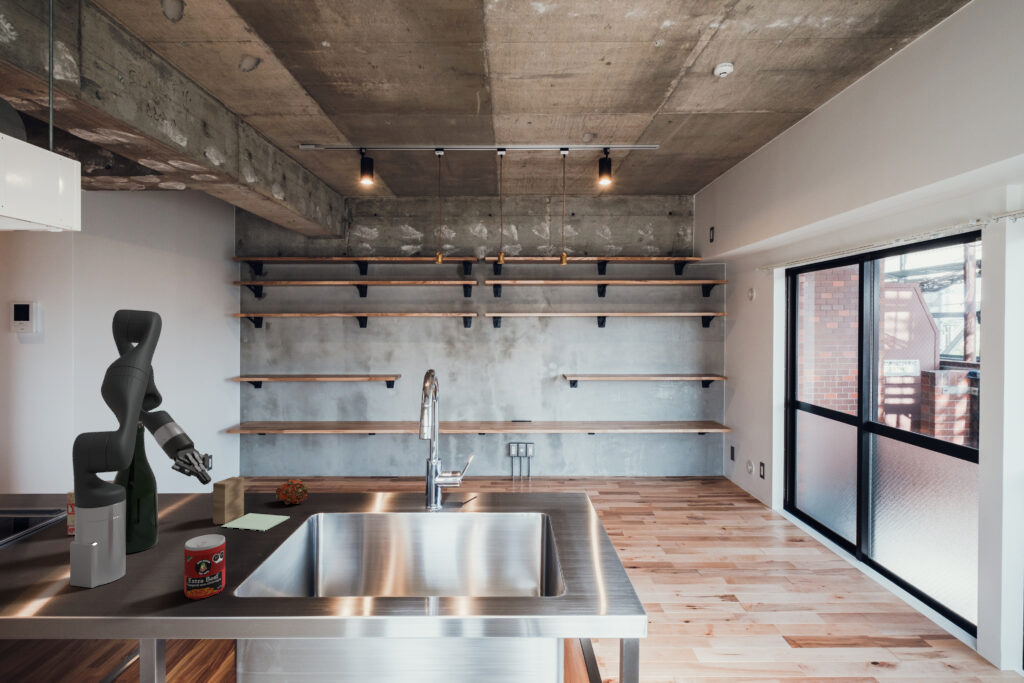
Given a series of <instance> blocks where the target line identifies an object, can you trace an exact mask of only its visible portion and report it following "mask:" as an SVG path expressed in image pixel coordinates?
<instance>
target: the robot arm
mask: <svg viewBox="0 0 1024 683" xmlns="http://www.w3.org/2000/svg"><path fill="white" fill-rule="evenodd" d="M162 321H163V320H162V317H161V315H160V314H159V313H158V312H156V311H152V310H139V309H127V308H126V309H118V310H116V312H115V313H114V315H113V318H112V323H111V331H112V336H113V337H112V338H113V339H114V344H115V346H116V348H117V352H118V355H119V357H118V358H116V359H115V360H114V361H113V362H112V363H111V364H110V365H109V366H108V368H106V371H105V373H104V378H103V381H102V383H101V386H100V394H101V396H102V399H103V401H104V402H105V404H106V405H107V407H108V408H109V409H110V410H111V412H112V414H114V416H115V418H116V420H117V423H119V427H118V429H117V430H105V431H102V430H101V431H91V432H89V431H88V432H82V433H80V434H78V435H77V436H76V437H75V439H74V441H73V444H72V453H71V454H72V457H71V458H72V460H71V461H72V471H73V490H74V495H75V536H74V540H73V541H71V542H70V543H69V544H70V546H69V554H70V556H69V561H70V562H69V585H70V586H75V587H83V588H89V589H91V588H96V587H97V586H98V587H99V586H101V585H105V584H108V583H112V582H115V581H116V580H120V579H121V578H123V577H124V576H125V575H126V570H127V569H126V564H127V563H126V556H127V555H126V490H125V488H124V487H123V486H121V485H118V484H113V483H109V482H106V481H107V480H104V479H102V478H100V477H99V476H98V475H97V474H100V473H101V474H102V473H113V472H116V473H117V472H118V471H122V470H125V469H127V468H128V467H129V465H130V464H131V461H132V458H133V454H134V448H135V441H136V434H137V426H138V421H142V425H144V428H145V429H147V430H148V432H149V434H151V435H152V437H153V438H154V440H155V441H156V443H157V445H158V446H159V447H160V448H161V450H162V451H163V452H164V453H165V454H166V455H167V456H166V457H168V459H170V460H173V462H174V463H173V464H172V466H171V469H172V470H174V471H175V472H177V473H180V474H182V475H184V476H187V477H192V476H193V477H196V479H197V480H198V481H199V482H200V484H202V485H203V486H205V485H209V483H211V481H212V477H211V476H210V474H208V472H207V471H206V470H207V469H208V468H209V467H210V465H209V464H210V463H209V461H210V459H209V458H210V457H209V456H210V455H209V453H204V454H202V453H200V451H199V450H197V449H196V448H195V443H194V441H193V440H192V439H191V438H190V436H189V435H188V434H187V432H186V431H185V430H184V429H183V428H182V427H181V426H180V425H179V423H178V422H176V421H175V419H173V417H172V416H171V415H170V413H168V411H167V410H164V409H163V410H156V409H157V408H158V407H160V406H161V405H162V403H163V397H162V394H161V393H160V391H159V390H158V387H157V385H156V383H155V375H154V374H155V373H154V368H153V365H152V361H153V358H154V354H155V351H156V349H157V346H158V342H159V341H160V340H159V339H160V337H161V333H162V328H163V322H162ZM134 344H136V346H135V345H134ZM154 409H155V410H156V411H153V410H154Z"/></svg>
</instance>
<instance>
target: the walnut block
mask: <svg viewBox="0 0 1024 683" xmlns="http://www.w3.org/2000/svg"><path fill="white" fill-rule="evenodd" d="M212 491H213V493H212V500H213V502H212V513H213V514H212V524H213V523H214V524H213V525H217V524H223V525H225V524H227V523H229V522H231V521H234V520H236V519H238V518H240V517H243V516H245V478H244V477H241V476H231V477H228V478H225V479H222V480H219V481H217V482H213V484H212ZM223 525H222V526H223Z"/></svg>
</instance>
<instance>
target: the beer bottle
mask: <svg viewBox="0 0 1024 683" xmlns="http://www.w3.org/2000/svg"><path fill="white" fill-rule="evenodd" d="M145 431H146V427H145V426H144V425H142V421H138V426H137V434H136V441H135V448H134V454H133V458H132V461H131V464H130V465H129V467H128V468H127V469H125V470H122V471H117V472H116V475H115V477H114V479H113V480H112V481H113V484H118V485H121V486H123V487H124V488H125V490H126V554H134V553H138V552H142V551H146V550H149V549H151V548H153V547H154V546H156V545H157V543H158V542H159V507H158V506H159V504H158V502H159V501H158V485H157V484H158V483H157V480H156V479H157V478H156V476H155V474H154V471H153V468H152V467H151V465H150V463H149V460H148V457H147V453H146V452H147V451H146V446H145V445H146V444H145Z"/></svg>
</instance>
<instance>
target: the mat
mask: <svg viewBox="0 0 1024 683" xmlns="http://www.w3.org/2000/svg"><path fill="white" fill-rule="evenodd" d="M290 518H291V517H290V516H287V515H275V514H262V513H251V512H249V513H247V514H244V516H243V517H240V518H238V519H236V520H234V521H231V522H229V523H227V524H225V525H220V526H221V528H222V527H227V528H226V529H233V528H239V529H238V530H244V529H250V530H249V531H256V530H259V531H258V532H266V531H267V530H269V529H271V528H273V527H276V526H277V525H279V524H281V523H283V522H284V521H285V522H286V521H287V520H289V519H290ZM265 530H266V531H265Z"/></svg>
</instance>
